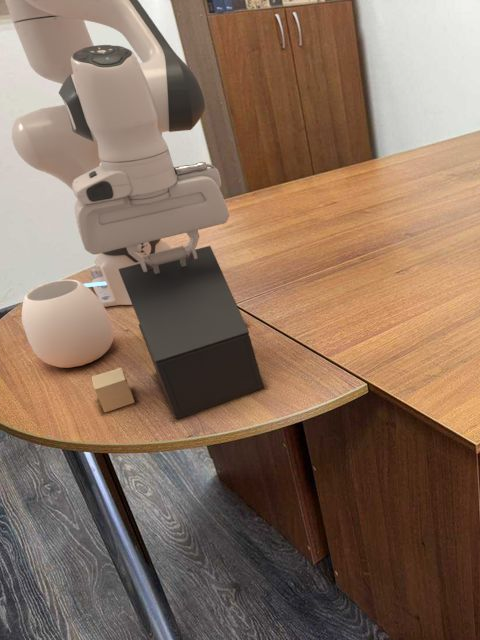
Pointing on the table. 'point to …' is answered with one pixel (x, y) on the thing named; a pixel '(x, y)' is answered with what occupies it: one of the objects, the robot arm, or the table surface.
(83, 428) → the table surface
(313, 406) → the table surface
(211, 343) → the lid
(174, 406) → the dark grey box
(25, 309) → the cream round vase
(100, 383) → the block
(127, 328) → the table surface
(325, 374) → the table surface
